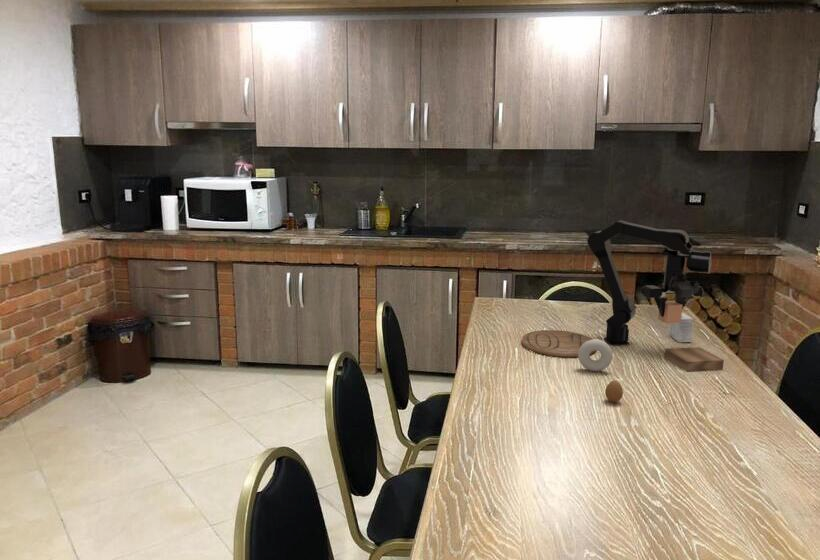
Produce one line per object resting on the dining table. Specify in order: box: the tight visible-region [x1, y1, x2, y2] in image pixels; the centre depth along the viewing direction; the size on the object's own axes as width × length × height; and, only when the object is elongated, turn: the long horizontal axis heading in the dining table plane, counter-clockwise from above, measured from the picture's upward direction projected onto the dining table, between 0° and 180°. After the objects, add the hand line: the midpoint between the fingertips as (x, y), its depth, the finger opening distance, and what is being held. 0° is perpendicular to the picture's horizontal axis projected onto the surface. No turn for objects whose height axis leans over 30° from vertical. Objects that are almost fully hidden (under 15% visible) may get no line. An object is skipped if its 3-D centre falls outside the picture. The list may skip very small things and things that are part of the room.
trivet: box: [521, 329, 598, 359], centre depth 214 cm, size 25×25×2 cm
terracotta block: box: [657, 300, 684, 324], centre depth 207 cm, size 5×5×6 cm
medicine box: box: [669, 312, 694, 344], centre depth 222 cm, size 8×4×9 cm, turn 179°
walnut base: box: [664, 346, 725, 372], centre depth 198 cm, size 12×12×3 cm
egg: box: [604, 380, 624, 403], centre depth 169 cm, size 4×4×6 cm
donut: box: [577, 338, 613, 372], centre depth 190 cm, size 10×4×10 cm, turn 77°
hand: (669, 316), depth 207 cm, fingers closed on terracotta block, 5 cm apart
